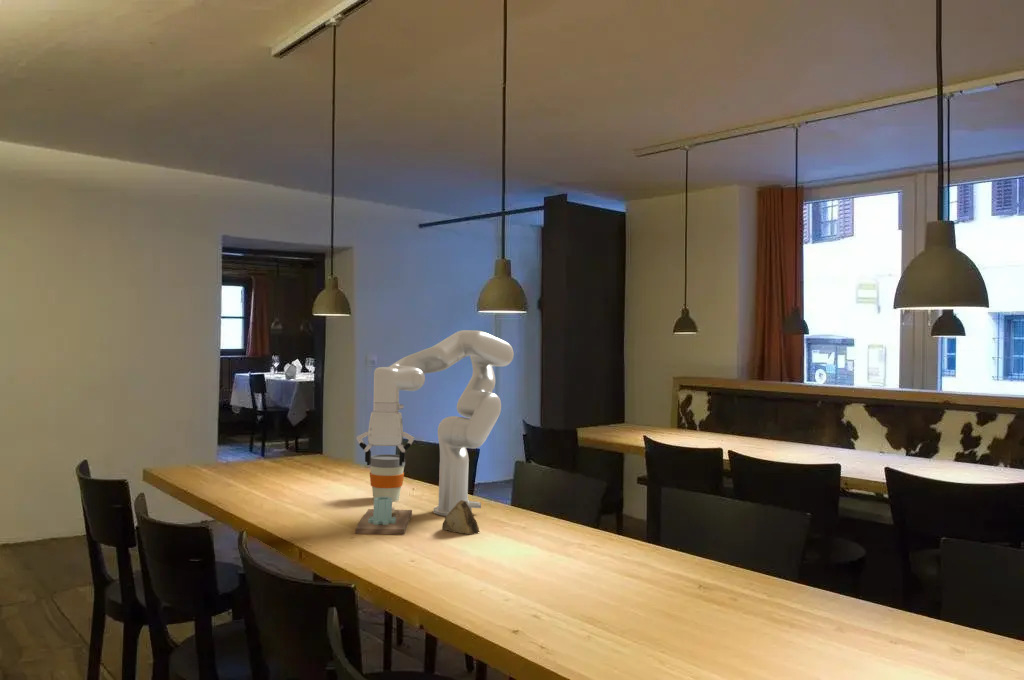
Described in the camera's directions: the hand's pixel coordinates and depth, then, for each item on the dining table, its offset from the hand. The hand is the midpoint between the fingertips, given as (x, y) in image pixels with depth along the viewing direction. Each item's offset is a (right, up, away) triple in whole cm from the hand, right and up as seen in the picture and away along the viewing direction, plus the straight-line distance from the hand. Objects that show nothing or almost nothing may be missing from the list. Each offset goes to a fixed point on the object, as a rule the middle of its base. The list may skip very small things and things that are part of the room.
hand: (384, 464), depth 223 cm
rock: (+23, -20, -4) cm, 30 cm away
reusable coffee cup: (-6, -19, +37) cm, 42 cm away
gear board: (0, -19, +3) cm, 19 cm away
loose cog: (-1, -17, -1) cm, 17 cm away
